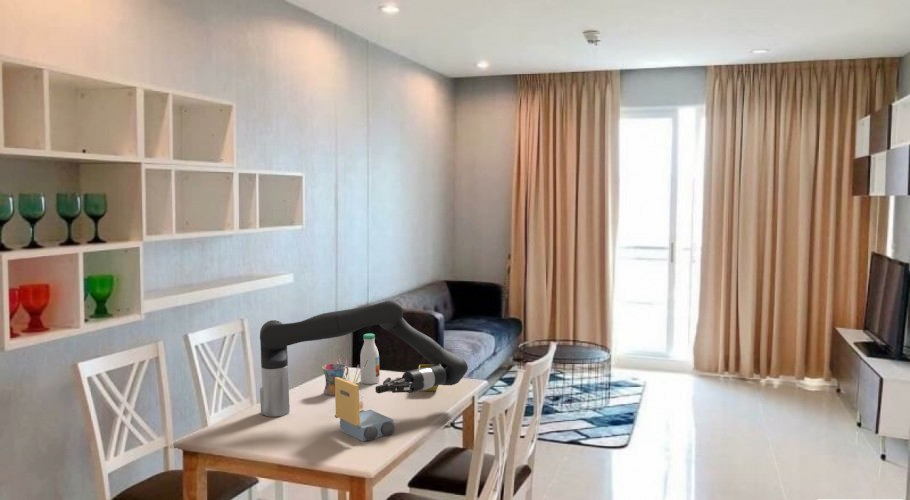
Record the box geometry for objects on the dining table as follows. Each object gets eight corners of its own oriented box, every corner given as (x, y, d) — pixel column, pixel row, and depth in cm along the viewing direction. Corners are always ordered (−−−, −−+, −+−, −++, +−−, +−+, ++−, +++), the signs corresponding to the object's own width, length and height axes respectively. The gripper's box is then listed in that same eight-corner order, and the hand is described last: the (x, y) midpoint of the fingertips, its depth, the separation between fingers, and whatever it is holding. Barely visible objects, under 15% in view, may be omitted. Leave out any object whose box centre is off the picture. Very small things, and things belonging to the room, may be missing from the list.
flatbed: (368, 421, 250) (368, 408, 249) (396, 433, 237) (395, 420, 237) (338, 429, 242) (338, 416, 242) (364, 442, 230) (364, 428, 229)
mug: (334, 398, 277) (333, 371, 276) (317, 394, 283) (316, 367, 282) (356, 390, 286) (355, 364, 285) (340, 386, 292) (339, 361, 291)
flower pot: (440, 392, 282) (440, 370, 281) (418, 392, 282) (417, 370, 281) (441, 386, 291) (440, 364, 290) (419, 386, 291) (419, 364, 290)
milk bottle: (371, 385, 293) (370, 337, 291) (357, 383, 297) (355, 335, 295) (383, 381, 300) (382, 333, 298) (368, 378, 304) (367, 331, 302)
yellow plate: (337, 416, 241) (336, 376, 240) (361, 428, 229) (360, 385, 228) (333, 418, 240) (332, 377, 239) (357, 429, 228) (356, 386, 227)
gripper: (407, 365, 257) (365, 375, 246) (429, 373, 246) (387, 383, 235) (407, 386, 257) (366, 396, 246) (430, 394, 247) (388, 405, 236)
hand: (376, 390), depth 241 cm, fingers closed
